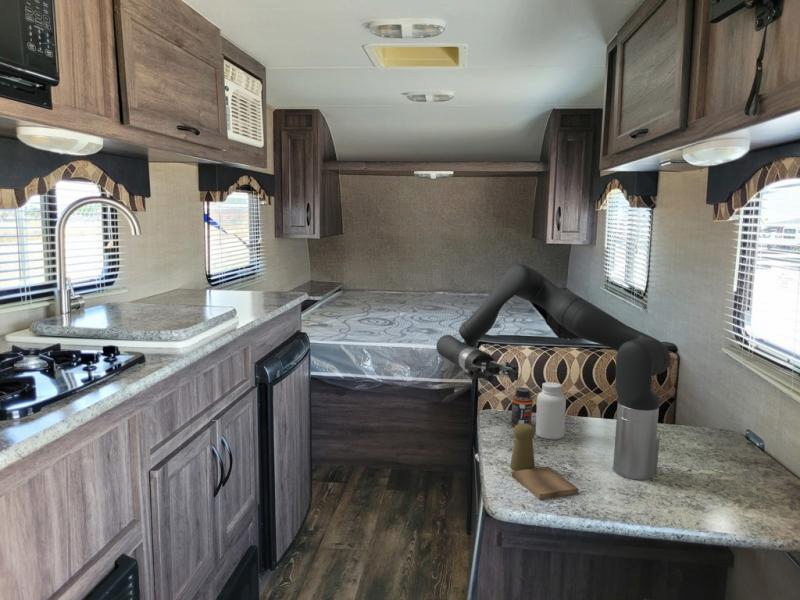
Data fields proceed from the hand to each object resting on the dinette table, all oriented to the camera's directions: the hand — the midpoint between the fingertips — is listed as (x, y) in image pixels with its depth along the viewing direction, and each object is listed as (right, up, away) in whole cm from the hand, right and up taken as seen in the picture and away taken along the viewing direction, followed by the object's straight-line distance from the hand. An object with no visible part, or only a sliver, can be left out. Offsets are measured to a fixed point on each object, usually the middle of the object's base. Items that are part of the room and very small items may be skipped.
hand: (504, 377), depth 149 cm
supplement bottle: (+9, -18, +22) cm, 30 cm away
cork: (+3, -22, -7) cm, 23 cm away
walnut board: (+6, -23, -16) cm, 28 cm away
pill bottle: (+16, -19, +15) cm, 29 cm away
